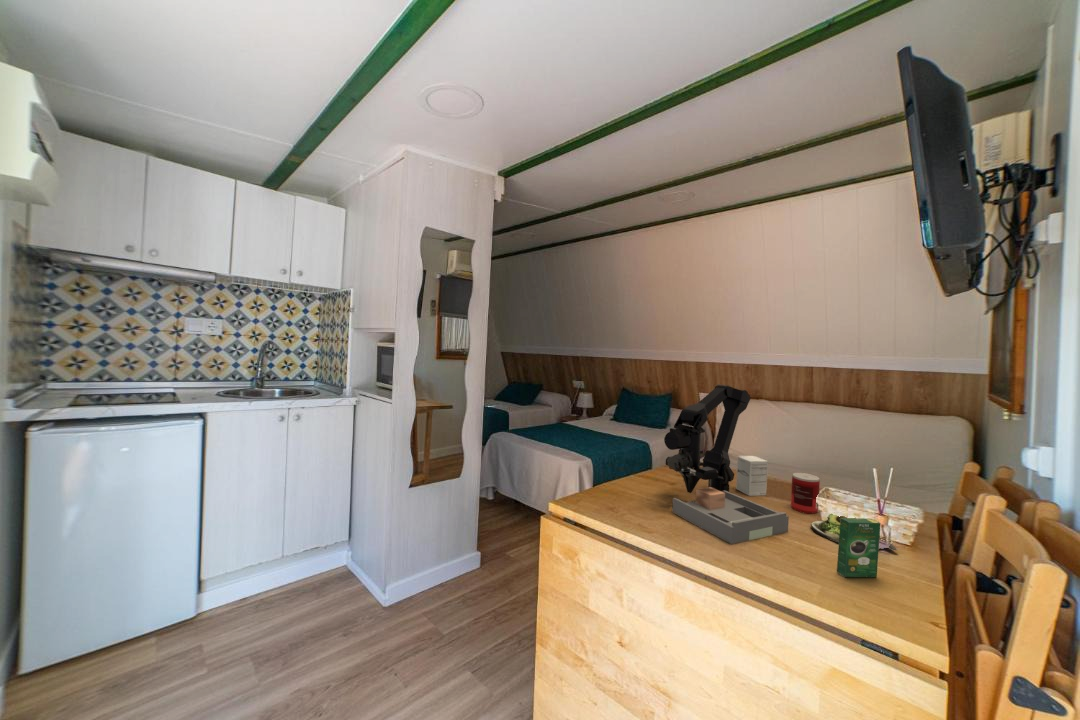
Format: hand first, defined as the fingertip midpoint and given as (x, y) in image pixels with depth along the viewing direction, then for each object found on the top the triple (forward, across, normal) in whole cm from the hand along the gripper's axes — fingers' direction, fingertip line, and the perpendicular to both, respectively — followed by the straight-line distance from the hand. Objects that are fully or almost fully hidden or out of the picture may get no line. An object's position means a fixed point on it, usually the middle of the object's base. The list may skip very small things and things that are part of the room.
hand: (689, 492), depth 143 cm
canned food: (+4, +18, +32) cm, 37 cm away
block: (+1, +9, 0) cm, 9 cm away
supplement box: (+4, 0, +30) cm, 30 cm away
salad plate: (+4, +36, +26) cm, 44 cm away
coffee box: (+4, +50, +4) cm, 50 cm away
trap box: (+4, +16, 0) cm, 16 cm away
